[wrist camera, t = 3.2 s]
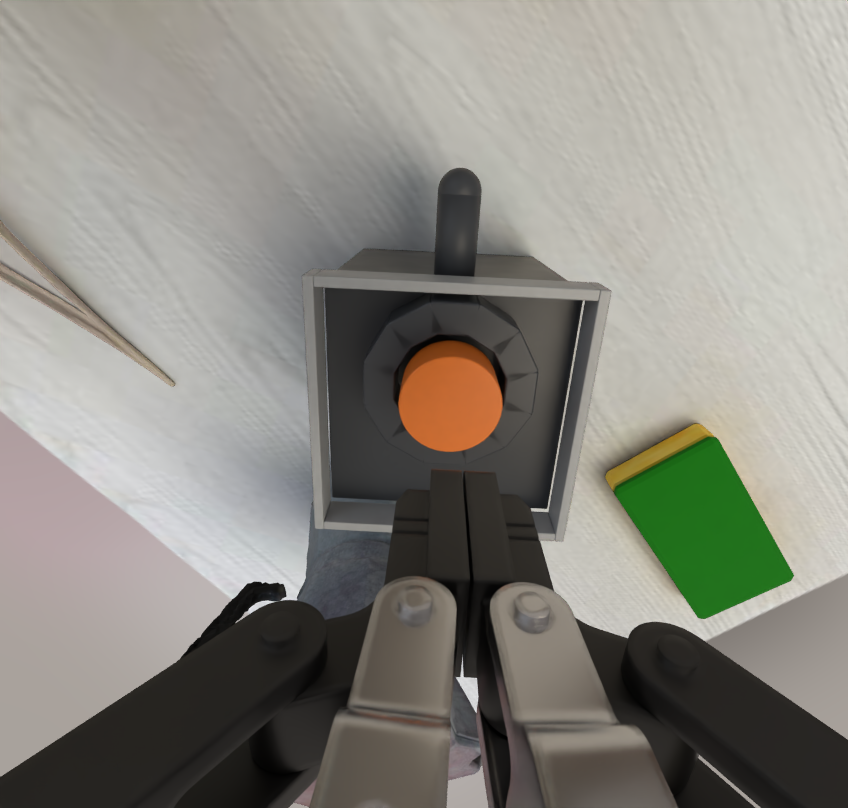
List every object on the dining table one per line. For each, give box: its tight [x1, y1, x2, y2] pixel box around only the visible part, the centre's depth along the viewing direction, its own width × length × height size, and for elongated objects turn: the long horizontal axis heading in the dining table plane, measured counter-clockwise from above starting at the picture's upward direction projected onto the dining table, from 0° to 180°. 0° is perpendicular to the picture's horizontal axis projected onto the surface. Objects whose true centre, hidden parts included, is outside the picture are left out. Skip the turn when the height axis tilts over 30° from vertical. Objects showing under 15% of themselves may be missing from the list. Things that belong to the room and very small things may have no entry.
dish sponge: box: [605, 424, 794, 619], centre depth 35 cm, size 7×14×2 cm, turn 36°
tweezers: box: [0, 220, 175, 387], centre depth 30 cm, size 18×5×2 cm, turn 44°
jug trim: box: [302, 168, 612, 542], centre depth 23 cm, size 11×14×10 cm
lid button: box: [398, 340, 503, 452], centre depth 18 cm, size 4×4×2 cm
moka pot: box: [178, 471, 482, 807], centre depth 27 cm, size 10×15×20 cm, turn 87°
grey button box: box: [325, 249, 583, 509], centre depth 25 cm, size 10×10×13 cm
